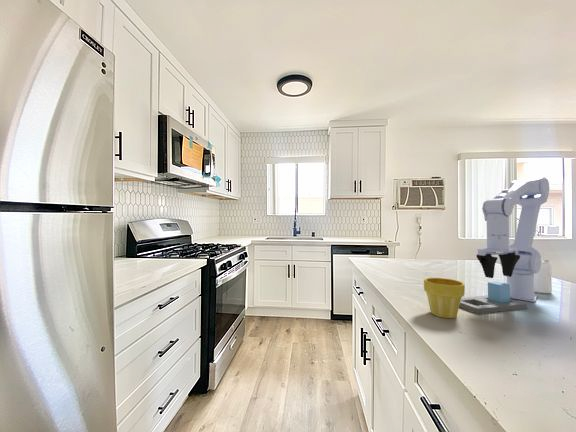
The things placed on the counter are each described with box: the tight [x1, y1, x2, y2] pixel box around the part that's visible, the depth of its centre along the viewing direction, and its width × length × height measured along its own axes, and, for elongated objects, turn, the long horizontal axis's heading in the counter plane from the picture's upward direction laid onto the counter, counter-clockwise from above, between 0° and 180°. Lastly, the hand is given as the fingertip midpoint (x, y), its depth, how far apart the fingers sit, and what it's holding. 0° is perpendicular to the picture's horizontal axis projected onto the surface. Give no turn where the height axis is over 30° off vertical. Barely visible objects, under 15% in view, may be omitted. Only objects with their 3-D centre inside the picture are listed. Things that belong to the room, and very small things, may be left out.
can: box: [534, 259, 553, 295], centre depth 100 cm, size 6×6×12 cm
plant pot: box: [423, 277, 466, 319], centre depth 77 cm, size 10×10×10 cm
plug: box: [487, 281, 511, 303], centre depth 85 cm, size 4×4×7 cm
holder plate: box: [459, 294, 528, 315], centre depth 84 cm, size 10×19×2 cm, turn 104°
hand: (498, 276), depth 85 cm, fingers open, 7 cm apart
